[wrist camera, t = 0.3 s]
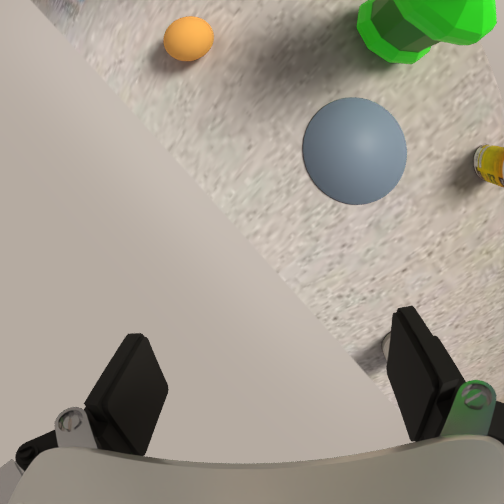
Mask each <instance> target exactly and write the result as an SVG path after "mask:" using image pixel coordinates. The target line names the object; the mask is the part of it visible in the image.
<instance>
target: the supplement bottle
mask: <svg viewBox="0 0 504 504" xmlns="http://www.w3.org/2000/svg"><path fill="white" fill-rule="evenodd" d="M474 168H475V171H476V173H477V175H478V176H479V177H480V178H481V179H482V180H485V181H487V182H490V183H493V184H496V185H498V186H501V187H504V147H499V146H493V145H482V146H480V147H479V148H478V149H477V151H476V153H475V156H474Z"/></svg>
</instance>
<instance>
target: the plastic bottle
mask: <svg viewBox="0 0 504 504" xmlns="http://www.w3.org/2000/svg"><path fill="white" fill-rule="evenodd" d="M496 23H497V22H496V5H495V0H368V1H366V2H365V3H363V4H362V5H361V6H360V7H359V12H358V19H357V26H356V27H357V30H358V32H359V33H360V35H361V37H362V39H363V41H364V43H365V44H366V46H367V48H368V49H369V50H371V51H372V52H374V53H375V54H377V55H378V56H380V57H381V58H383V59H384V60H386V61H387V62H390V63H404V64H413V63H415V62H416V61H418V60H419V59H420V58H421V57H423V56H424V55H425V54H427V53H428V52H429V51H430V48H431V46H432V45H434V44H437V43H439V42H441V41H442V42H447V43H452V44H457V45H471V44H474V43H476V42H478V41H479V40H480V39H481V38H482V37H484V36H485V35H486V34H488V33H489V32H490V31H491V30H492V29H493V28H494V26H495V25H496Z"/></svg>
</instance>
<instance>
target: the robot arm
mask: <svg viewBox="0 0 504 504" xmlns="http://www.w3.org/2000/svg"><path fill="white" fill-rule="evenodd" d="M387 375H388V378H389V380H390V383H391V386H392V389H393V391H394V394H395V397H396V400H397V402H398V405H399V408H400V411H401V414H402V417H403V420H404V422H405V425H406V429H407V432H408V435H409V438H410V440H411V441H415V442H413V443H409V444H405V445H401V446H396V447H392V448H387V449H382V450H377V451H371V452H366V453H360V454H355V455H348V456H342V457H336V458H335V457H334V458H327V459H319V460H308V461H297V462H282V463H257V464H229V463H228V464H226V463H204V462H189V461H177V460H167V459H159V458H152V457H145V456H144V455H145V453H146V451H147V448H148V445H149V443H150V440H151V437H152V434H153V432H154V429H155V426H156V423H157V421H158V418H159V415H160V413H161V410H162V407H163V404H164V402H165V399H166V396H167V394H168V385H167V382H166V380H165V378H164V376H163V373H162V371H161V369H160V367H159V364H158V362H157V360H156V357H155V355H154V352H153V350H152V347H151V345H150V342H149V340H148V338H147V337H144V335H143V334H141V333H136V334H128V335H127V336H126V337H125V339H124V340H123V342H122V343H121V345H120V346H119V348H118V349H117V351H116V353H115V354H114V356H113V357H112V359H111V360H110V362H109V364H108V365H107V367H106V368H105V370H104V372H103V373H102V375H101V376H100V378H99V380H98V381H97V383H96V385H95V386H94V388H93V389H92V391H91V393H90V394H89V396H88V398H87V399H86V401H85V403H84V404H85V406H86V407H85V409H84V410H83V409H82V408H79V407H72V408H68V409H66V410H64V411H63V412H61V413H60V414H59V415H58V417H57V418H56V421H55V430H53V431H51V432H49V433H46V434H44V435H42V436H40V437H37V438H35V439H33V440H30V441H28V442H26V443H25V444H22V445H21V446H20V447H19V449H18V451H17V452H16V461H14V460H12V459H11V460H10V461H9V462H7V463H6V464H5V465H3V466H2V467H1V468H0V504H504V403H501V402H498V401H496V393H495V390H494V389H493V388H492V386H491V385H489V384H488V383H486V382H484V381H480V380H472V381H468V382H465V380H464V378H463V376H462V375H461V373H460V371H459V370H458V368H457V366H456V365H455V363H454V362H453V360H452V358H451V357H450V355H449V354H448V352H447V350H446V349H445V347H444V346H443V344H442V343H441V341H440V339H439V338H438V337H437V336H433V335H432V334H431V332H430V330H429V329H428V327H427V326H426V324H425V323H424V321H423V320H422V318H421V317H420V315H419V314H418V312H417V311H416V309H415V308H414V307H413V306H408V307H402V308H398V310H397V312H396V313H393V316H392V327H391V336H390V344H389V352H388V360H387Z"/></svg>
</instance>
